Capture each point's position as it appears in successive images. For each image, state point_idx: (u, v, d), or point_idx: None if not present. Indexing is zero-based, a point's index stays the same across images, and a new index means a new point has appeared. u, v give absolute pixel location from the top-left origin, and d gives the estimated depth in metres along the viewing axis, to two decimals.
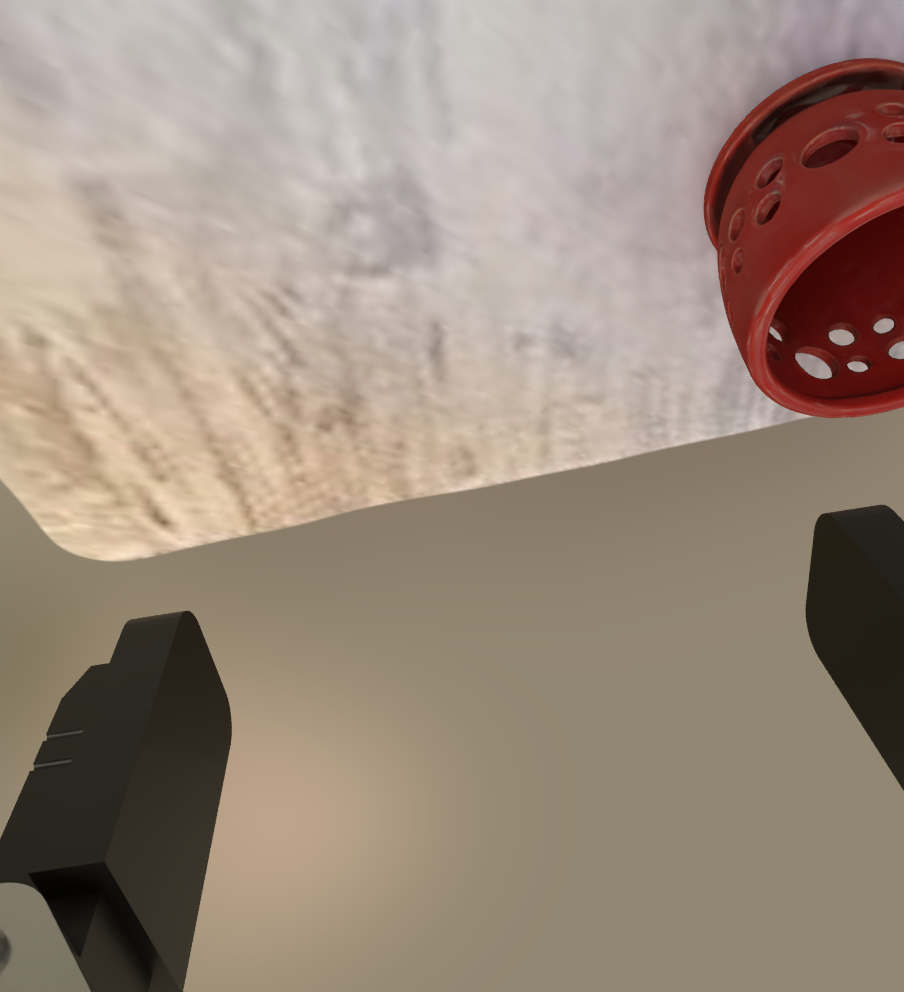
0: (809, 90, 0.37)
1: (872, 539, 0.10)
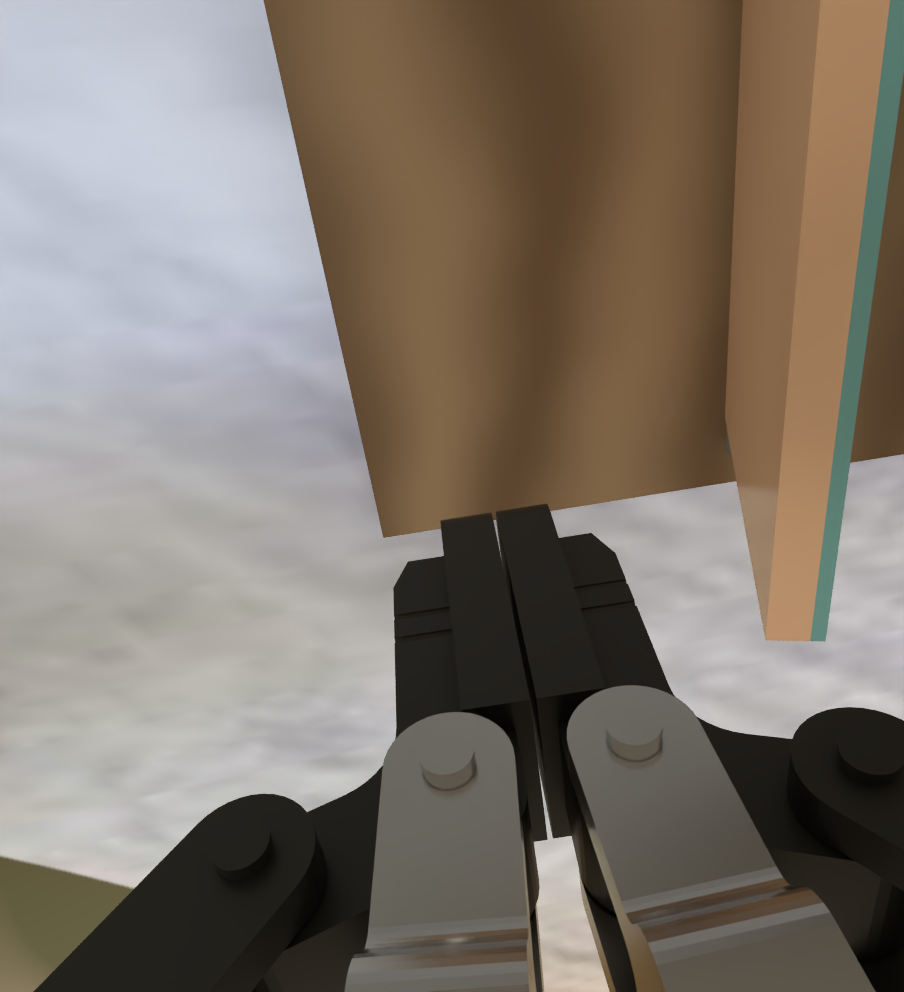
0: None
1: (517, 534, 0.11)
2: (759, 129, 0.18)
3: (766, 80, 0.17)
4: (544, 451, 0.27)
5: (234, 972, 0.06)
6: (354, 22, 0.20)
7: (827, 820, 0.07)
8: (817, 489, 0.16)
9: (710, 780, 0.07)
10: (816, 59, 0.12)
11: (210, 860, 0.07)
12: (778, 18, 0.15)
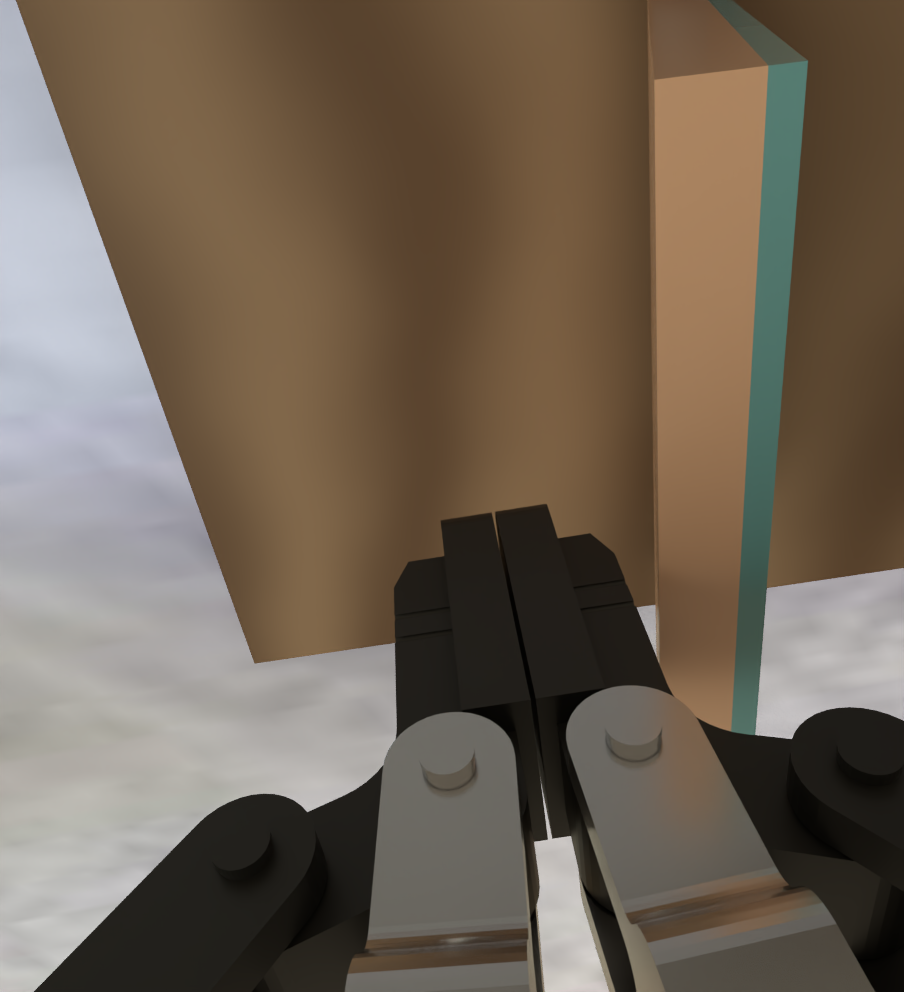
0: None
1: (516, 535, 0.11)
2: (651, 220, 0.13)
3: None
4: None
5: (234, 972, 0.06)
6: (151, 67, 0.16)
7: (827, 820, 0.07)
8: None
9: (710, 780, 0.07)
10: (657, 172, 0.07)
11: (209, 861, 0.07)
12: None
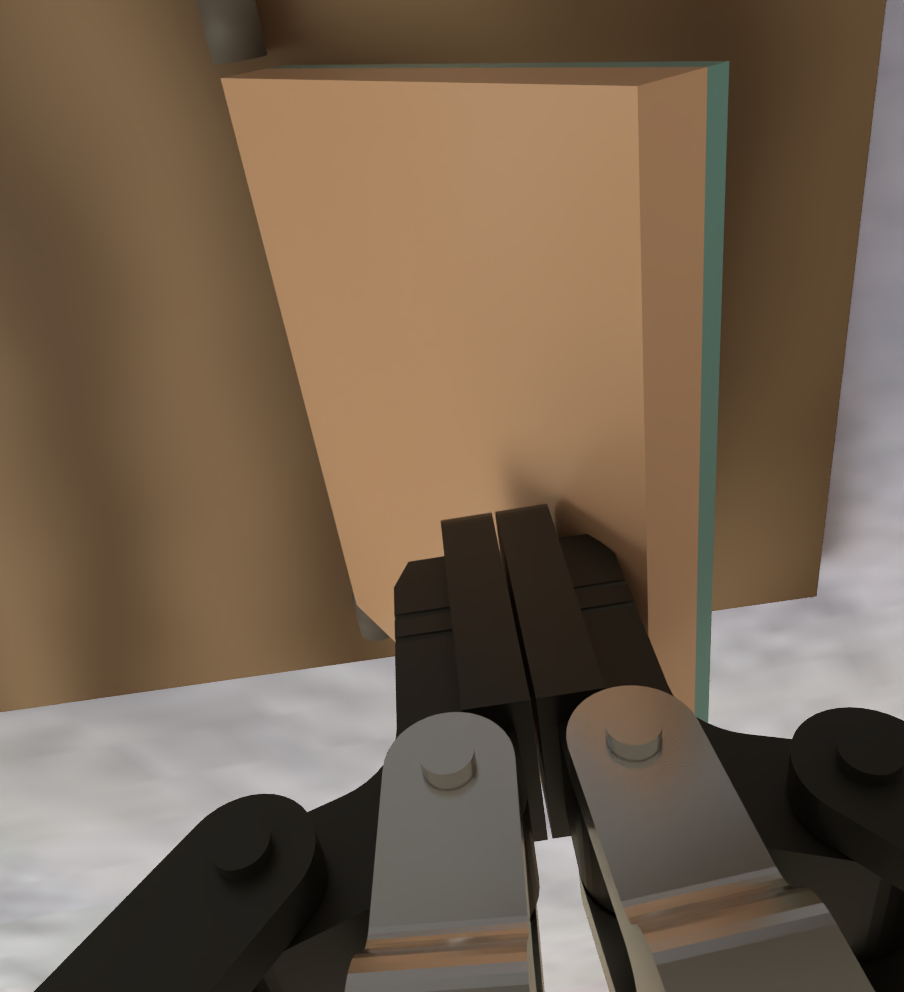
0: None
1: (516, 534, 0.11)
2: (373, 276, 0.13)
3: (382, 213, 0.12)
4: (144, 625, 0.23)
5: (234, 971, 0.06)
6: None
7: (827, 819, 0.07)
8: (684, 701, 0.12)
9: (709, 780, 0.07)
10: (639, 174, 0.08)
11: (210, 860, 0.07)
12: (409, 129, 0.11)
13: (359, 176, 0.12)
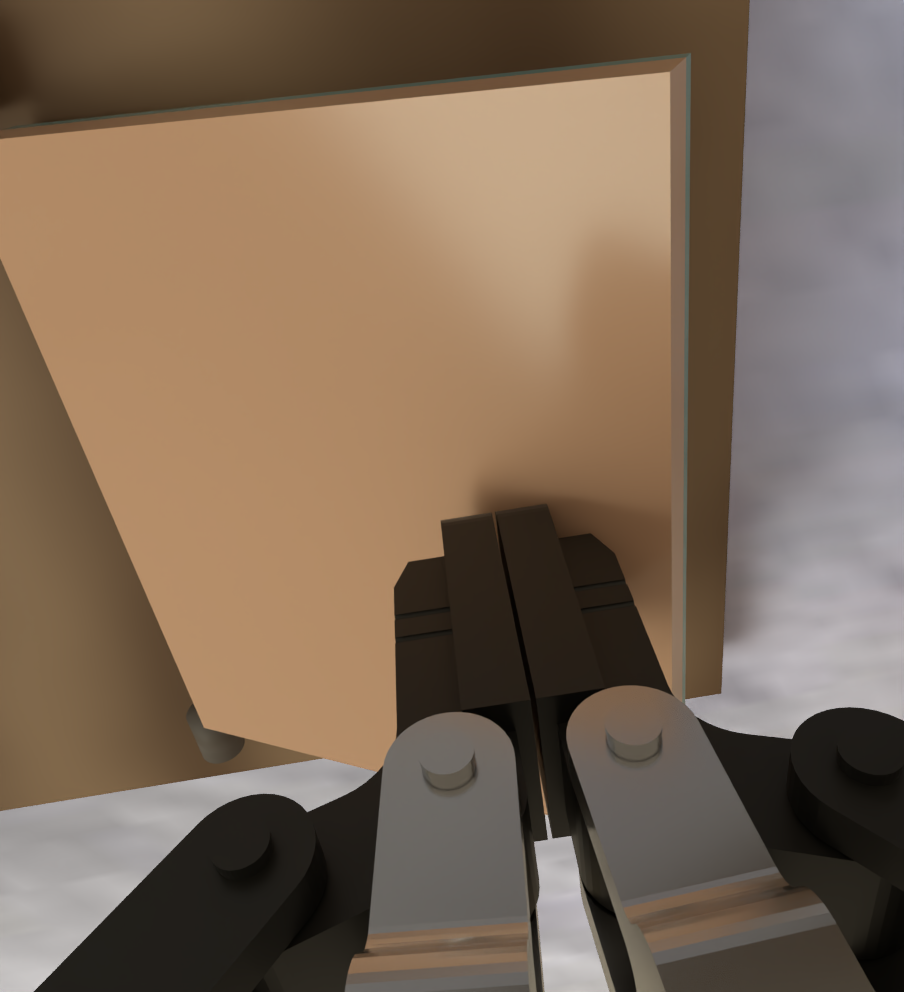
0: None
1: (516, 535, 0.11)
2: (254, 332, 0.12)
3: (275, 258, 0.11)
4: None
5: (233, 973, 0.06)
6: None
7: (827, 820, 0.07)
8: (680, 652, 0.13)
9: (710, 780, 0.07)
10: (669, 154, 0.08)
11: (210, 860, 0.07)
12: (326, 158, 0.10)
13: (234, 223, 0.11)
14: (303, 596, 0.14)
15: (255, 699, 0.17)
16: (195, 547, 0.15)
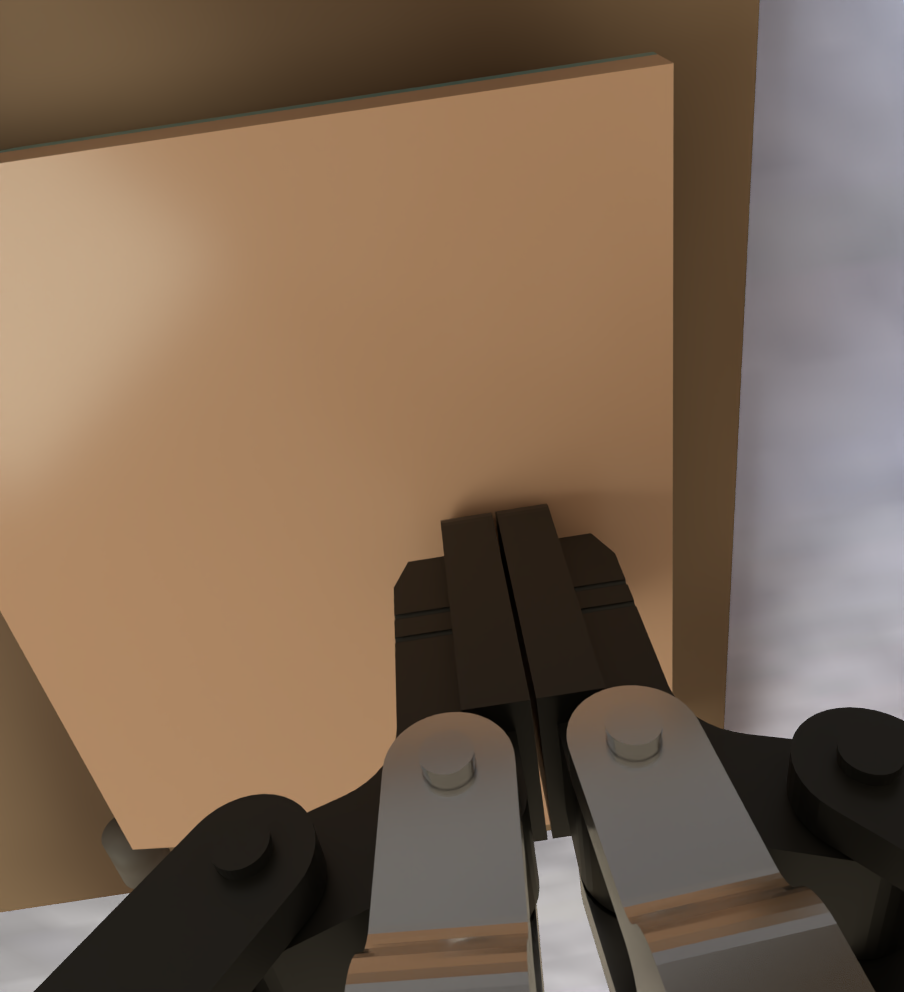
0: None
1: (517, 534, 0.11)
2: (210, 376, 0.11)
3: (239, 290, 0.10)
4: None
5: (234, 972, 0.06)
6: None
7: (827, 820, 0.07)
8: None
9: (710, 780, 0.07)
10: (672, 142, 0.09)
11: (210, 861, 0.07)
12: (304, 174, 0.09)
13: (187, 256, 0.10)
14: (267, 663, 0.13)
15: (202, 797, 0.15)
16: (126, 638, 0.13)
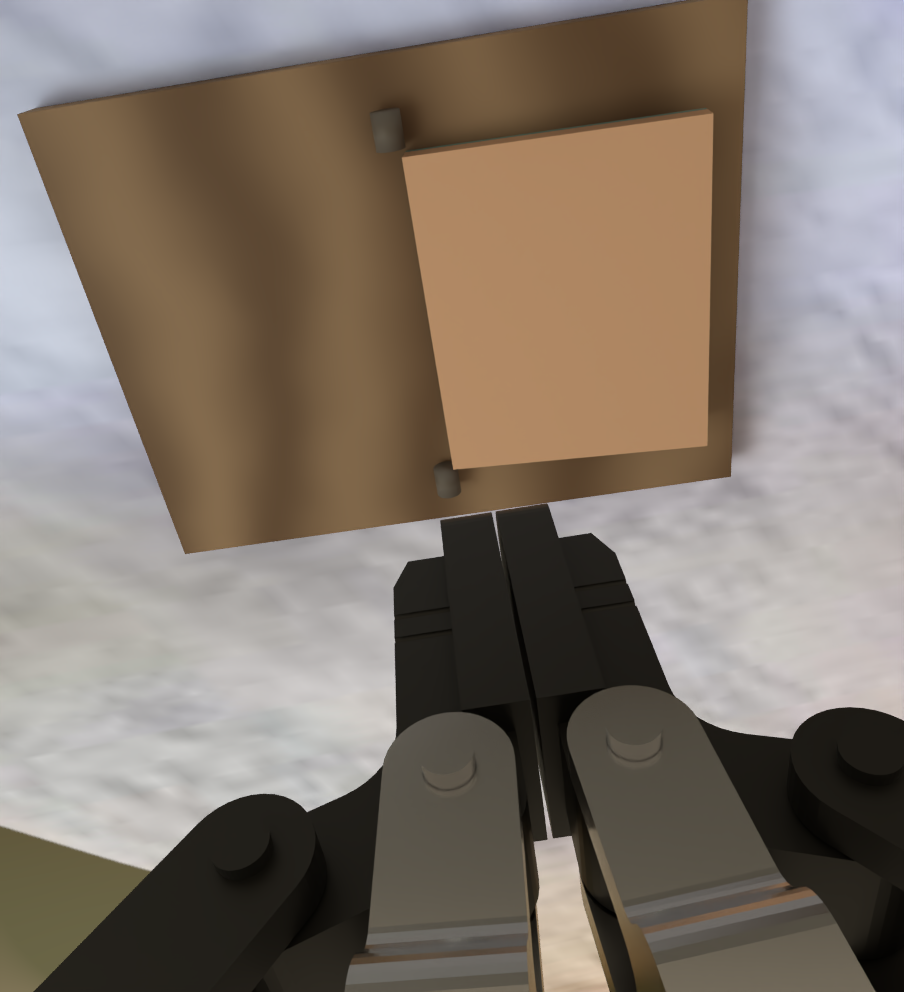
0: None
1: (517, 534, 0.11)
2: (540, 225, 0.29)
3: (557, 191, 0.28)
4: (300, 490, 0.36)
5: (233, 973, 0.06)
6: (108, 194, 0.29)
7: (827, 820, 0.07)
8: None
9: (710, 780, 0.07)
10: (712, 138, 0.27)
11: (210, 860, 0.07)
12: (587, 149, 0.27)
13: (541, 178, 0.28)
14: (537, 358, 0.31)
15: (493, 435, 0.33)
16: (479, 345, 0.31)
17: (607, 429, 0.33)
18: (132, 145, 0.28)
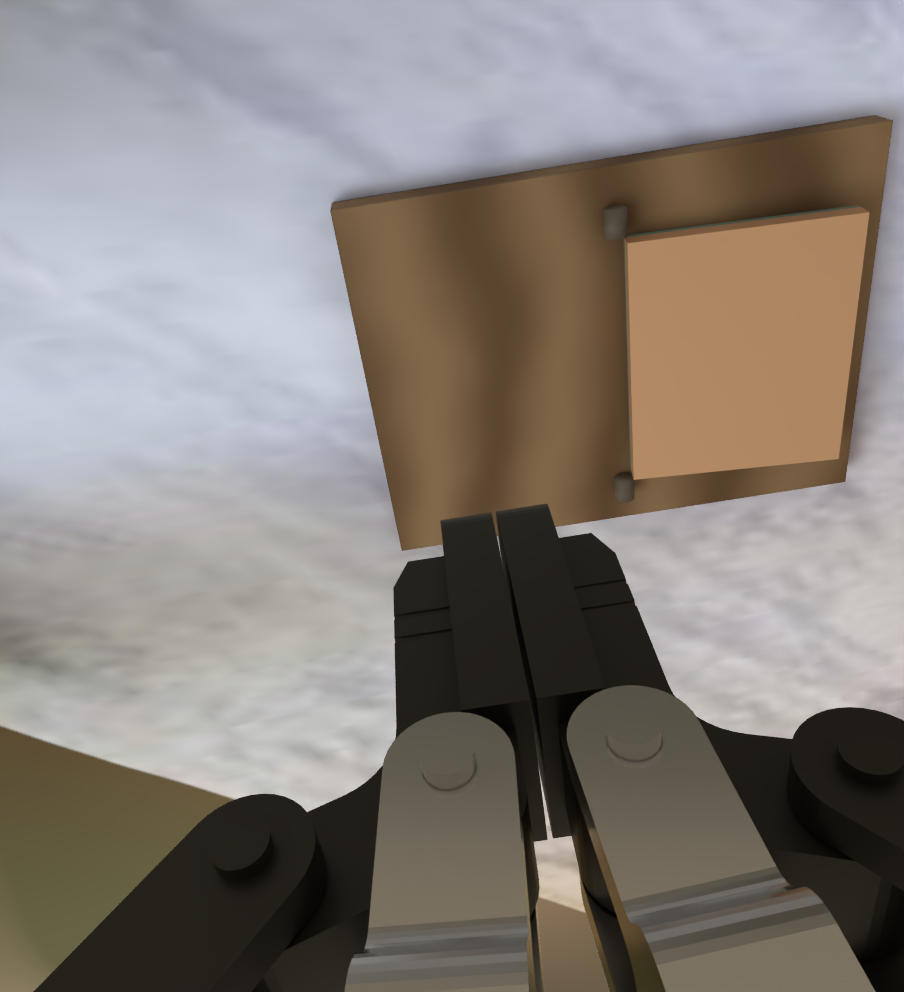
0: None
1: (517, 534, 0.11)
2: (727, 292, 0.37)
3: (744, 267, 0.37)
4: (502, 497, 0.44)
5: (235, 972, 0.06)
6: (389, 269, 0.37)
7: (827, 820, 0.07)
8: None
9: (710, 780, 0.07)
10: (866, 230, 0.36)
11: (210, 860, 0.07)
12: (771, 237, 0.36)
13: (733, 258, 0.36)
14: (712, 392, 0.40)
15: (669, 452, 0.42)
16: (668, 383, 0.40)
17: (761, 447, 0.41)
18: (414, 233, 0.36)
